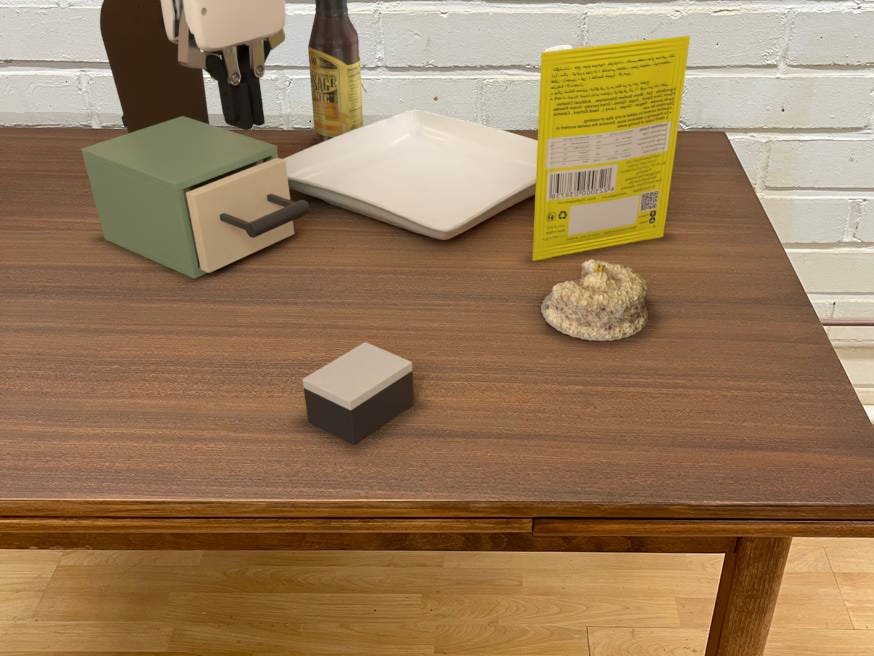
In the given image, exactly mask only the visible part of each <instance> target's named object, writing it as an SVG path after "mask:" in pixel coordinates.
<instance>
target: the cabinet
mask: <svg viewBox="0 0 874 656" xmlns="http://www.w3.org/2000/svg"><path fill="white" fill-rule="evenodd" d="M80 150H81V154H82V159H83V163H84V165H85V166H84V167H85V169H86V173H87V178H88V181H89V185H90V190H91V193H92V196H93V201H94V205H95V208H96V212H97V217H98V220H99V224H100V228H101V232H102V235H103V240H105V241H107V242H110V243H112V244H114V245H117V246H118V247H120V248H121V247H122V248H123V249H125V250H128V251H130V252H132V253H135V254H138V255H139V256H141V257H144V258H146V259H148V260H151V261H152V262H155V263H157V264H160V265H162V266H164V267H167V268H169V269H171V270H173V271H176V272H178V273H181V274H182V275H185V276H187V277H190V278H191V279H193V280H195V279H197V278H199V277H201V276H203V275H206V274H208V273H207V272H205V271H203V270H201V267H200V262H199V260H197V256H196V251H195V246H194V241H193V236H192V231H191V226H190V221H189V216H188V210H187V205H186V200H185V195H184V190H183V189H185V188H188V187H191V186H193V185H196V184H198V183H201V182H204V181H206V180H209V179H212V178H214V177H217V176H219V175H222V174H225V173H227V172H230V171H233V170H235V169H238V168H240V167H243V166H246V165H248V164H251V163H254V162H256V161H259V160H261V159H263V163H264V162H267V161H270V160H272V159H275V158H279V154H278V146H277V145H275V144H272V143H269V142H266V141H263V140H259V139H256V138H253V137H251V136H248V135H244V134H241V133H237V132H235V131H232V130H228V129H225V128H222V127H218V126H216V125H212V124H210V123H209V124H206V123H203V122H200V121H197V120H194V119H191V118H188V117H184V116H181V117H178V118H175V119H172V120H169V121H166V122H163V123H160V124H156V125H153V126H150V127H147V128H144V129H141V130H138V131H135V132H132V133H126V134H125V133H124V134H122V135H120V136H116V137H113V138H110V139H107V140H104V141H101V142H98V143H95V144H91V145H89V146H85V147H83V148H80Z"/></svg>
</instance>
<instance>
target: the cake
mask: <svg viewBox="0 0 874 656" xmlns="http://www.w3.org/2000/svg"><path fill="white" fill-rule="evenodd" d="M580 274H581V275H580V276H581V278H579V279H578V280H579V281H578V280H576V279H574V280H571V281H570V280H566V281H564V282H559V283H557V284H555V285H553V286H552V289H551V292H549V294H548V295H546V296H545V298H544V299H543V300H542V303H541V304H540V307H541V309H540V313H542V317H543V318H544V319H545V322H547V323H548V324H549V325H550V326H551V327H552V328H554V329H555V330H557V331H558V332H561V333H562V334H564V335H568V336H570V337H572V338H579V339H581V340H586V341H587V340H588V341H592V342H593V341H595V342H596V341H600V342H606V341H610V342H613V341H615V340H623V339H625V338H629V337H632V336H636V334H637V333H639V332H641V331H642V330H643V328H645V327H646V325H647V323H648V322H649V320H648V319H649V318H650V316H649V311H648V310H647V307H646V301H647V295H648V291H649V287H648V284H649V282H648V280H646V279H645V278H644V277H643V276H642V275H641V274H640V273H635V271H634V270H633V267H631V268H630V267H629V266H627V267H626V266H625V264H620V263H619V264H617V263H614V262H607V261H604V259H601V260H600V259H599V260H598V259H597V260H595V259H592V258H591V259H588V260H585V261H584V262H582V263H581V272H580Z"/></svg>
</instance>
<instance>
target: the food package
mask: <svg viewBox="0 0 874 656" xmlns="http://www.w3.org/2000/svg"><path fill="white" fill-rule="evenodd" d="M690 39H691V37H690V35H684V36H676V37H664V38H655V39H647V40H638V41H627V42H620V43H611V44H610V43H609V44H601V45H594V46H593V45H591V46H592V47H583V48H575V49H566V50H558V51H549V52H544V51H542V52H541V55H540V79H539V81H540V82H539V99H538V100H539V104H538V123H537V125H538V127H537V141H538V146H537V169H536V192H535V195H534V196H535V197H534V219H533V220H534V221H533V239H532V240H533V241H532V257H531V258H532V262H535V261H541V260H547V259H550V258H551V259H552V258H557V257H562V256H568V255H572V254H573V255H574V254H578V253H583V252H589V251H593V250H600V249H605V248H609V247H616V246H620V245H626V244H631V243H637V242H638V243H639V242H643V241H649V240H653V239H654V240H655V239H660V238H663V237H664V233H665V226H666V220H667V211H668V205H669V197H670V190H671V182H672V174H673V167H674V160H675V152H676V146H677V137H678V132H679V131H678V130H679V123H680V115H681V108H682V100H683V91H684V84H685V79H686V72H687V64H688V55H689V47H690V46H689V45H690Z"/></svg>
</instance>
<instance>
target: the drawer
mask: <svg viewBox="0 0 874 656" xmlns="http://www.w3.org/2000/svg"><path fill="white" fill-rule="evenodd" d="M283 159H284V158H279V157H278V158H275V159H272V160H270V161H267V162H264V163H263V159H261V160H259V161H256V162H254V163H251V164H248V165H246V166H243V167H240V168H238V169H235V170H233V171H230V172H227V173H225V174H222V175H219V176H217V177H214V178H212V179H209V180H206V181H204V182H201V183H198V184H196V185H193V186H191V187H188V188H185V189H183V190H184V195H185V200H186V205H187V210H188V216H189V221H190V226H191V231H192V236H193V241H194V246H195V251H196V256H197V260H199V262H200V267H201V270H203V271H205V272H207V273H206V274H210V273H213V272H214V271H217V270H219V269H221V268H223V267H225V266H227V265H230V264H232V263H234V262H237V261H238V260H241V259H243V258H245V257H247V256H249V255H252V254H254V253H257V252H258V251H261V250H263V249H264V248H267V247H269V246H272V245H274V244H276V243H278V242H281V241H282V240H284V239H286V238H289V237H291V236H293V235H295V227H294V221H295V220H297V219H299V218H301V217H303V216H306V215H308V214H309V213H310V211H311V210H310V209H311V208H310V205H309V204H308V202H307V201H306V200H304V199H300V200H298V201H293V200H291V195H290V188H289V186H288V178H287V170H286V162H285V160H283Z"/></svg>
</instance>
